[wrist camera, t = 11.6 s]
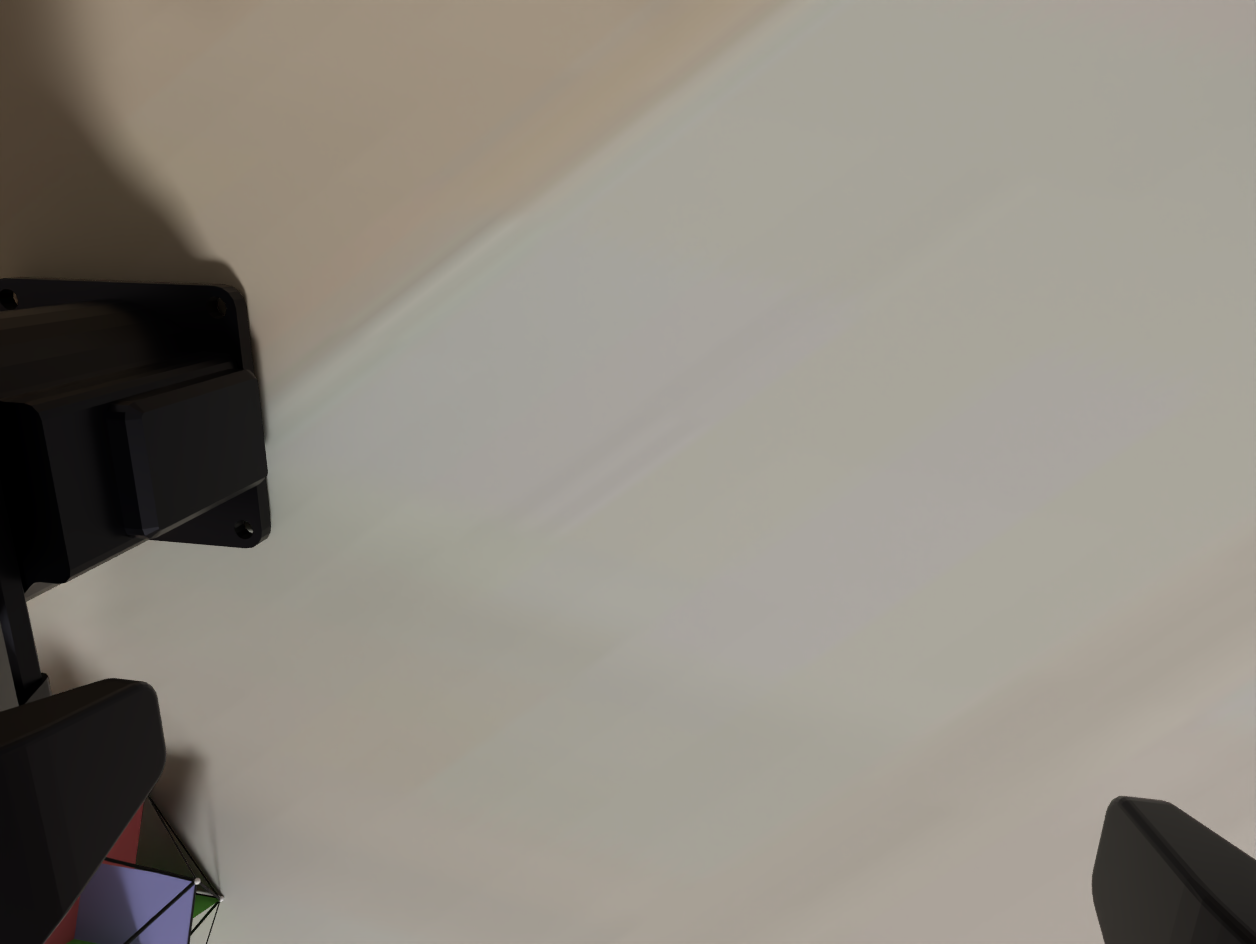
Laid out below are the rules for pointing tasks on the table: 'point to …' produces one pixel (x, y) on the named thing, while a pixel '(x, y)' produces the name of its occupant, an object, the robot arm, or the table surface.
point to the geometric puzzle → (135, 900)
